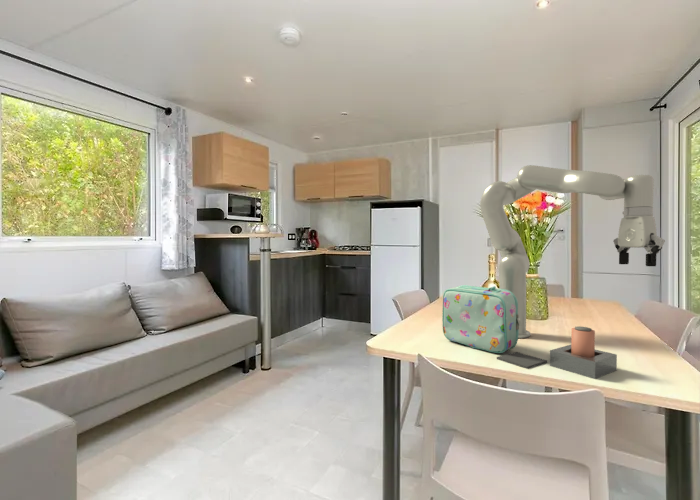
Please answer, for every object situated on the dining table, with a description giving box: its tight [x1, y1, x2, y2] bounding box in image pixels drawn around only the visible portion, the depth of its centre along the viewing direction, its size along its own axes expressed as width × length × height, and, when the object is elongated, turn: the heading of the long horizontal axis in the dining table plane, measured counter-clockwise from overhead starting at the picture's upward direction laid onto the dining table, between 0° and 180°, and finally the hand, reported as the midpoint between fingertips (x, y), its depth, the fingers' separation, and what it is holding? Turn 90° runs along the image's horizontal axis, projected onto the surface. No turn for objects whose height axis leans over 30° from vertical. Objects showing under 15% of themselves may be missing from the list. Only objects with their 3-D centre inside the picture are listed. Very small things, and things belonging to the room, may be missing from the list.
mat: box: [496, 351, 548, 369], centre depth 110 cm, size 10×10×1 cm
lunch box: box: [441, 284, 521, 354], centre depth 125 cm, size 27×10×21 cm, turn 37°
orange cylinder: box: [570, 325, 596, 358], centre depth 104 cm, size 6×6×12 cm
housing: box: [549, 344, 618, 380], centre depth 104 cm, size 12×12×4 cm
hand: (636, 265), depth 120 cm, fingers open, 9 cm apart
